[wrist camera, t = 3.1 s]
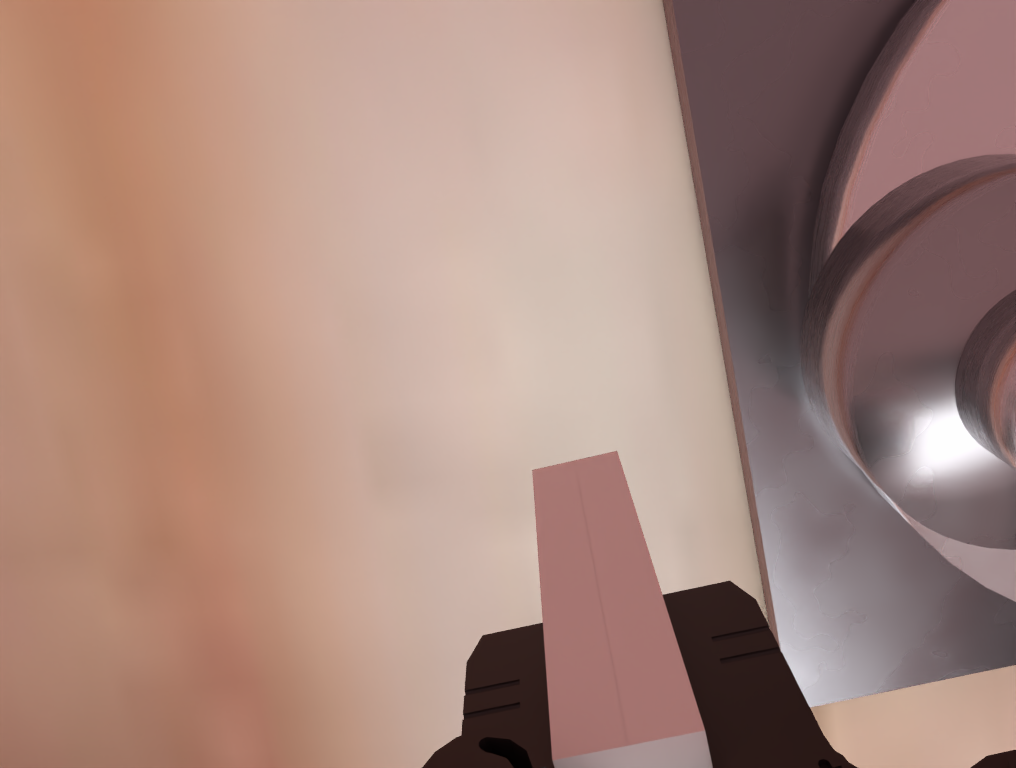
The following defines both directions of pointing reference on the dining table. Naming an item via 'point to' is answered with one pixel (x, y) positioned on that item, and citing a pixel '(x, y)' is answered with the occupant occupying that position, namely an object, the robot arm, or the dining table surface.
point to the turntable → (927, 155)
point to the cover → (926, 348)
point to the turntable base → (776, 353)
